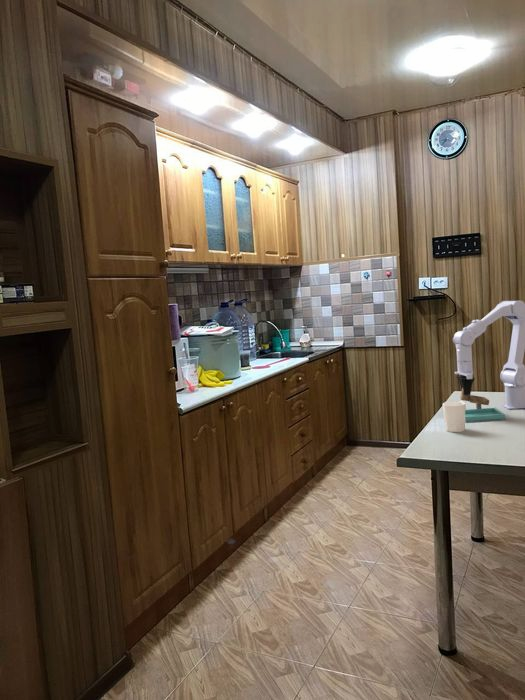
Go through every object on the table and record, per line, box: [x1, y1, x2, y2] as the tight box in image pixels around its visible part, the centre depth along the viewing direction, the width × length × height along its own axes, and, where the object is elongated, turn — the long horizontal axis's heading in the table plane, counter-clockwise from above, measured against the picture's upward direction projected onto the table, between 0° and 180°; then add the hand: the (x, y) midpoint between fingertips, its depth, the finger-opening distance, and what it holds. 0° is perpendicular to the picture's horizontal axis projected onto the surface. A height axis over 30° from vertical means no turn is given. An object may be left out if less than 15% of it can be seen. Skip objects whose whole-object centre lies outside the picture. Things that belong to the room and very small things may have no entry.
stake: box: [475, 403, 483, 409], centre depth 228 cm, size 3×2×4 cm
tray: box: [465, 407, 506, 423], centre depth 217 cm, size 16×12×2 cm
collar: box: [459, 387, 490, 406], centre depth 222 cm, size 10×7×5 cm
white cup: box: [442, 400, 466, 433], centre depth 202 cm, size 8×8×10 cm
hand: (466, 393), depth 223 cm, fingers closed on collar, 2 cm apart
